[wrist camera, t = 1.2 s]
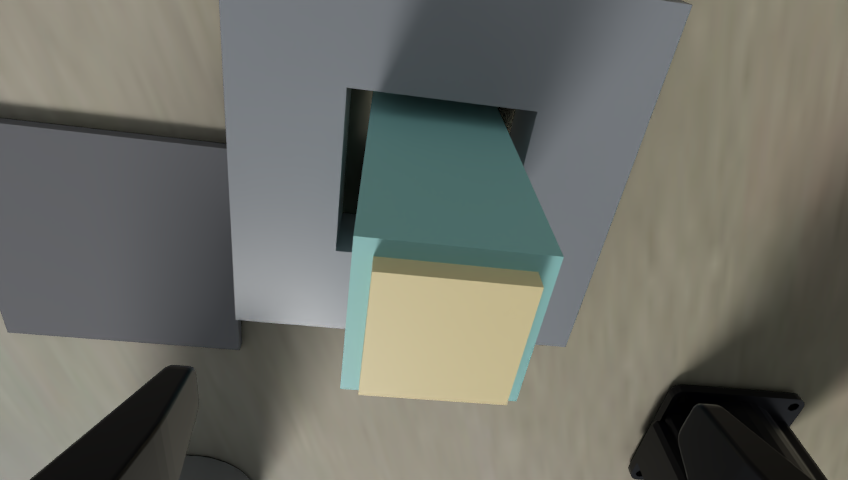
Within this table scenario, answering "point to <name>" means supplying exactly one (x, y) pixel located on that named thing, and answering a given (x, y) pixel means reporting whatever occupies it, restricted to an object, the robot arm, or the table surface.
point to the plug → (445, 257)
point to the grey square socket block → (439, 79)
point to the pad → (115, 236)
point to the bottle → (209, 470)
